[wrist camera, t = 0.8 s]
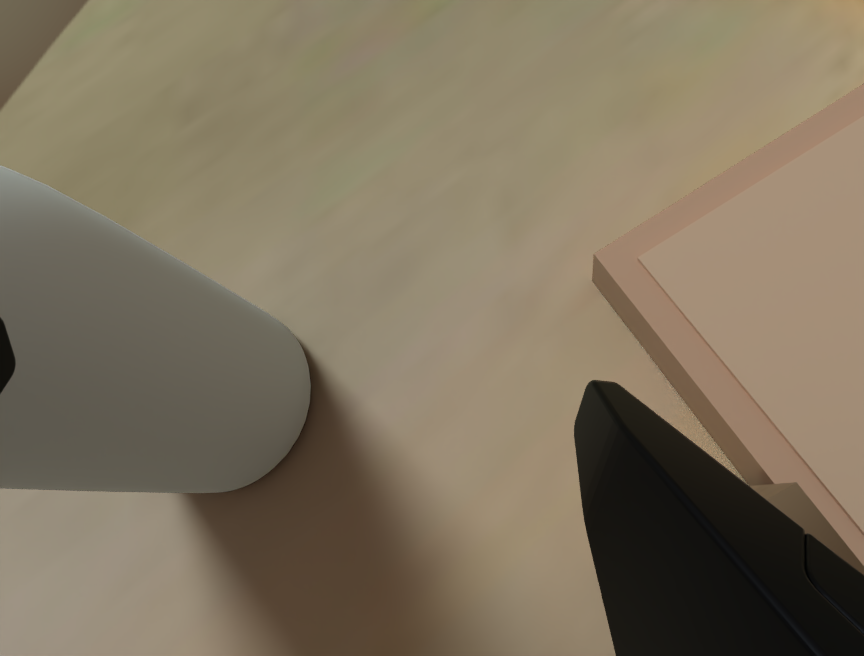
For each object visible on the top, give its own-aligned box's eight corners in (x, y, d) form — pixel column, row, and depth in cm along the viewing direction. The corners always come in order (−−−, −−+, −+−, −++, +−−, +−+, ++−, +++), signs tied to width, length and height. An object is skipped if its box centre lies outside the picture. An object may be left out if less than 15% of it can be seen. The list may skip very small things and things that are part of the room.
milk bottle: (329, 313, 24) (-549, -345, 5) (302, 502, 22) (-1325, 515, 3) (175, 312, 26) (-855, -169, 7) (137, 485, 24) (-1452, 430, 5)
